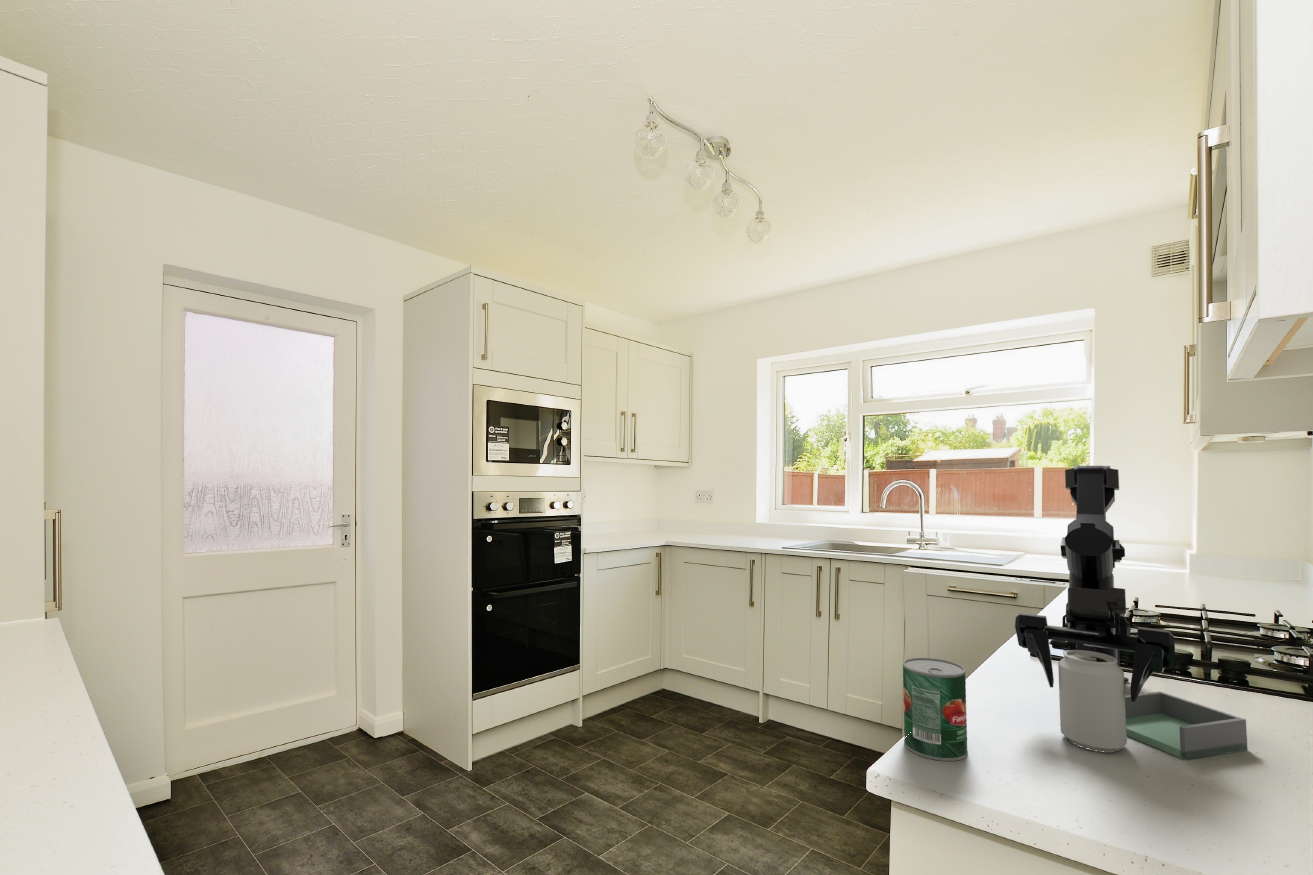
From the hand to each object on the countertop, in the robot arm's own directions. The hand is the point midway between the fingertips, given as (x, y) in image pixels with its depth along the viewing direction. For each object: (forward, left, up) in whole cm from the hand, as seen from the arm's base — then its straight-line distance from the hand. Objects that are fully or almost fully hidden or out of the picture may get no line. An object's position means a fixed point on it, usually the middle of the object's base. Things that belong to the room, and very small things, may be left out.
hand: (1090, 692), depth 86 cm
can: (-1, -1, -7) cm, 7 cm away
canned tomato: (+21, -5, -7) cm, 23 cm away
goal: (-13, +1, -7) cm, 15 cm away
